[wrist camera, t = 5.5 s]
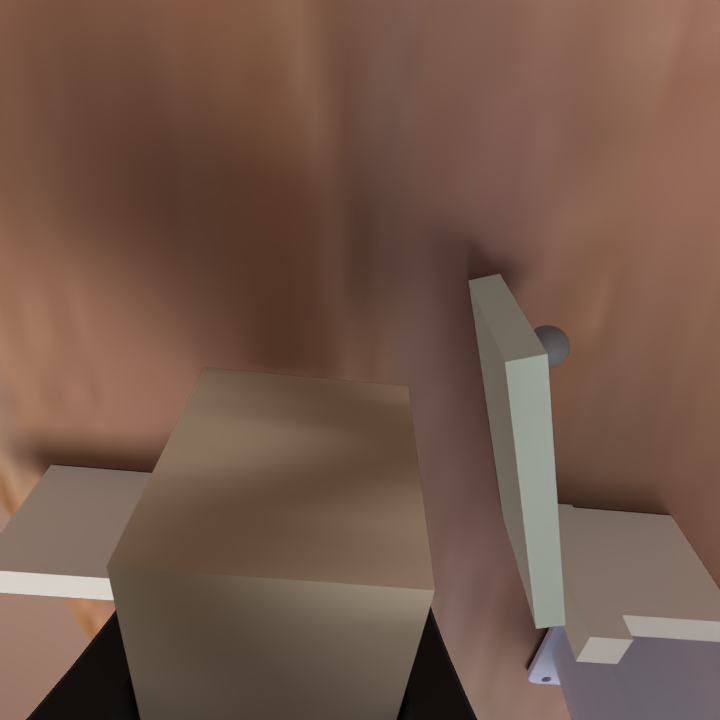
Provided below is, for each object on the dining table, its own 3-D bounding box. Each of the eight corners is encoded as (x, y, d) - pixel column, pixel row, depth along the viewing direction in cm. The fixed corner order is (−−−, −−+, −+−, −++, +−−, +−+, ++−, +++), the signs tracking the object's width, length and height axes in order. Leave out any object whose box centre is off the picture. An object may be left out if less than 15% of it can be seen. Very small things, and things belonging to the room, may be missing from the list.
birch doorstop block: (407, 386, 10) (434, 590, 6) (362, 623, 14) (362, 833, 11) (204, 367, 10) (106, 566, 6) (217, 613, 14) (163, 824, 10)
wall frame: (672, 513, 23) (762, 648, 18) (658, 536, 24) (740, 672, 19) (50, 462, 21) (-48, 593, 16) (57, 488, 22) (-34, 621, 17)
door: (555, 508, 22) (601, 620, 18) (502, 517, 22) (536, 629, 18) (538, 264, 16) (599, 343, 12) (468, 280, 17) (504, 362, 12)
